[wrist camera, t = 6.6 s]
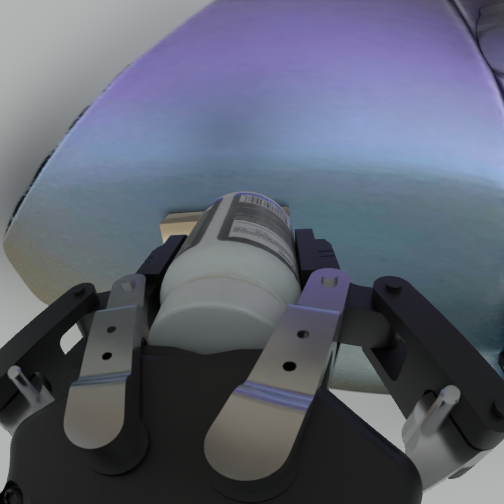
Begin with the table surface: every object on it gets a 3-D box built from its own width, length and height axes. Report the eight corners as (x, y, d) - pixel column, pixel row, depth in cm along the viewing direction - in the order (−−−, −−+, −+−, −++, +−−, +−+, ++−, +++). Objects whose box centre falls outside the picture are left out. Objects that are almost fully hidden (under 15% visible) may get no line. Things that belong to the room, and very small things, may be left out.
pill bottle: (220, 284, 16) (183, 415, 9) (185, 206, 14) (100, 312, 7) (304, 262, 15) (323, 399, 8) (277, 176, 13) (280, 268, 6)
